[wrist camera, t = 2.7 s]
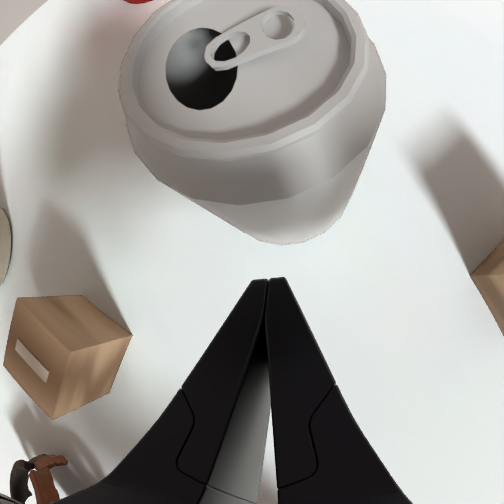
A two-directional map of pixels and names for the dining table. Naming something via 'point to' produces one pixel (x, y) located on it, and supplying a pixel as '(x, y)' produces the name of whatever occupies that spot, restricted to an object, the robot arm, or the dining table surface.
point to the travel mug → (4, 245)
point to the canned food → (137, 1)
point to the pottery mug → (35, 479)
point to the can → (256, 109)
